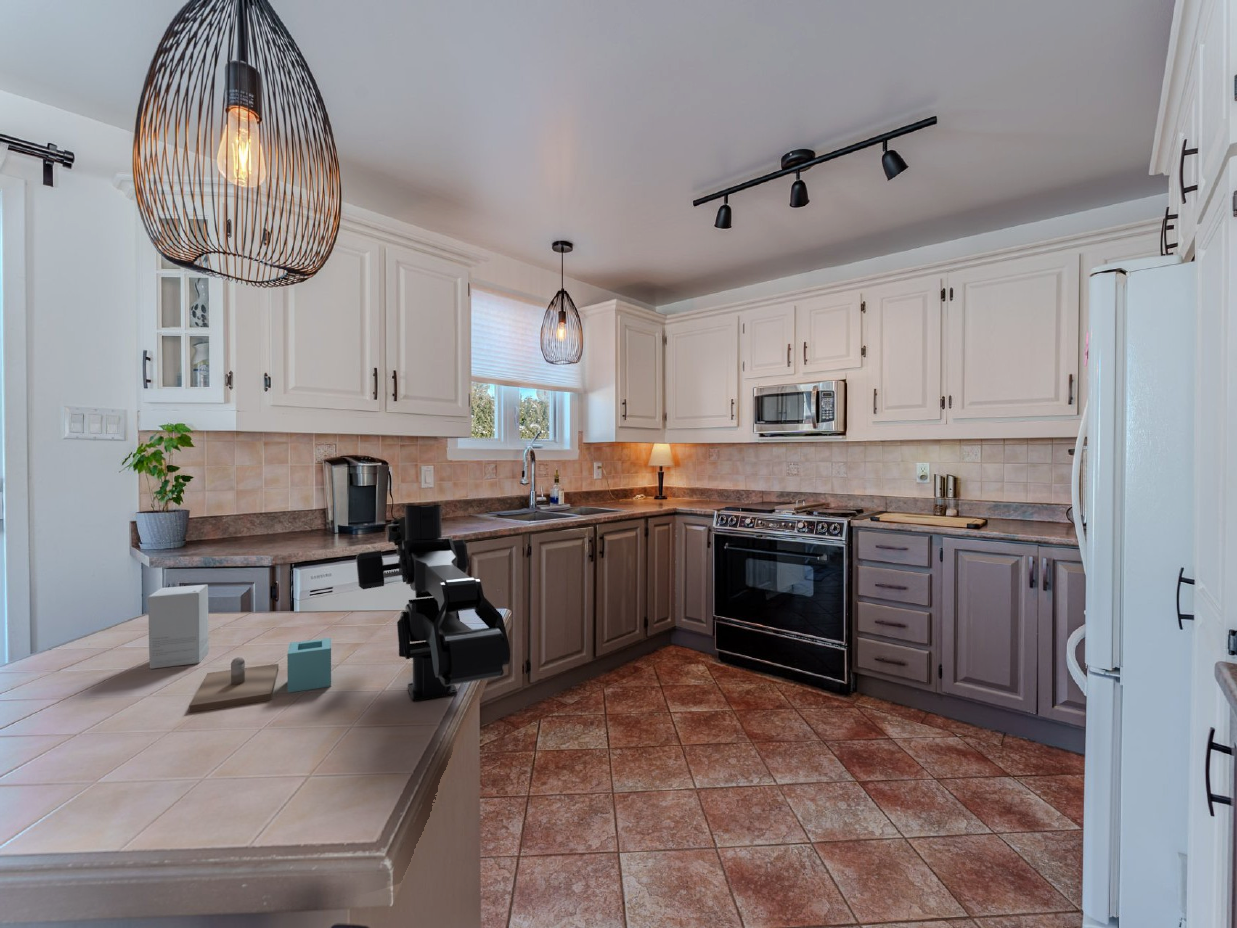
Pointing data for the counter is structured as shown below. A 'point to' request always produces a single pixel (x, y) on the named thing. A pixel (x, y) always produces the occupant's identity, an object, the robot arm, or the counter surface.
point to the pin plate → (235, 686)
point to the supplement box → (178, 626)
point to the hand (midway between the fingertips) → (407, 560)
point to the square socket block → (309, 665)
